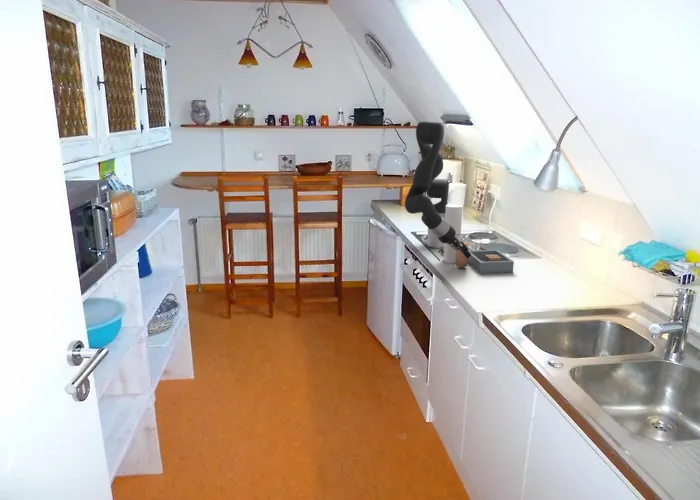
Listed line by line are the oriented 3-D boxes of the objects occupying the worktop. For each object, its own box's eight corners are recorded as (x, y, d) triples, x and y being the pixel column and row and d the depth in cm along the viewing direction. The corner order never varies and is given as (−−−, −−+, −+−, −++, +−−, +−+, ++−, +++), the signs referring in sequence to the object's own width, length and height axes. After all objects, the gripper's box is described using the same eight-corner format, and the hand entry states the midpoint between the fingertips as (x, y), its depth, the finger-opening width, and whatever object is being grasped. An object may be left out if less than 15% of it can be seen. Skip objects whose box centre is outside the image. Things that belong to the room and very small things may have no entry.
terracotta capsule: (453, 264, 213) (455, 241, 211) (465, 263, 214) (466, 241, 211) (457, 267, 209) (458, 244, 206) (468, 267, 209) (470, 244, 206)
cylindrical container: (455, 263, 218) (457, 207, 211) (440, 261, 222) (442, 206, 215) (462, 259, 223) (465, 205, 217) (447, 257, 227) (450, 203, 221)
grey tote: (466, 261, 220) (466, 250, 219) (496, 260, 221) (497, 249, 220) (479, 274, 203) (480, 262, 202) (512, 273, 204) (513, 261, 203)
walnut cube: (484, 266, 210) (485, 254, 209) (495, 265, 211) (496, 254, 209) (488, 269, 206) (489, 258, 204) (500, 269, 206) (501, 257, 205)
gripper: (457, 226, 197) (481, 252, 204) (439, 219, 210) (462, 244, 217) (445, 240, 197) (469, 266, 204) (427, 232, 210) (451, 256, 217)
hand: (465, 254), depth 210 cm, fingers closed on terracotta capsule, 5 cm apart
